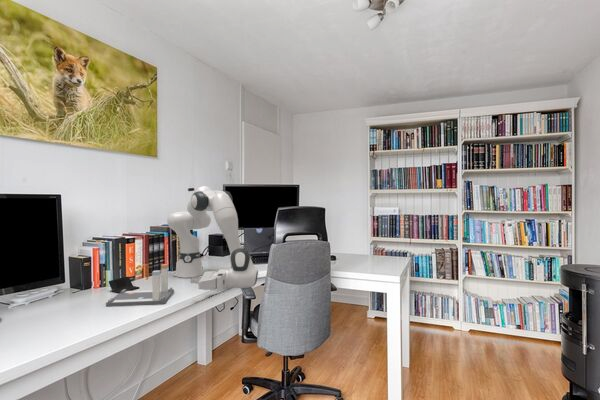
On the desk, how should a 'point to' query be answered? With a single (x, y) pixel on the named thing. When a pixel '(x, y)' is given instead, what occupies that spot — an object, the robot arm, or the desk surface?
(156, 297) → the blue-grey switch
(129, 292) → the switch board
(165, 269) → the grey upright post
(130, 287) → the handheld gaming console
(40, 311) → the desk surface
